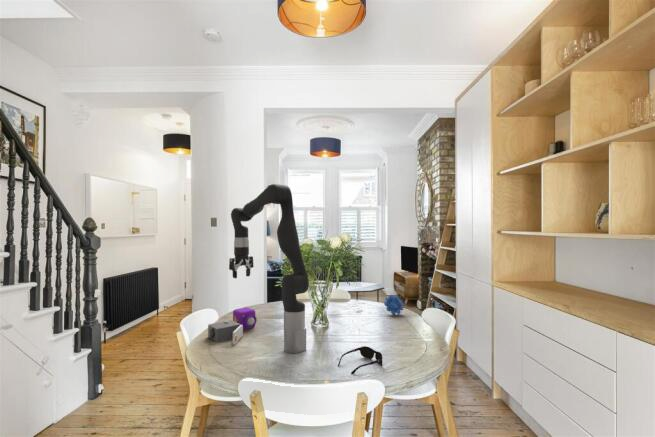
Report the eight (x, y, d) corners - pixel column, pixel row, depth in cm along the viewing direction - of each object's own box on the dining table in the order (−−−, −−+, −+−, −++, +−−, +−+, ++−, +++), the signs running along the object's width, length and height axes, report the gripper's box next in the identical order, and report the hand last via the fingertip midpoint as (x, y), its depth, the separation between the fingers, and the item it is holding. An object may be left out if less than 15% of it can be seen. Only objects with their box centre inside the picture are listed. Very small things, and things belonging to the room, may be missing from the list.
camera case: (240, 336, 170) (240, 322, 170) (214, 342, 161) (214, 328, 161) (231, 331, 177) (231, 318, 177) (205, 337, 168) (205, 323, 168)
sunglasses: (387, 367, 134) (387, 354, 134) (356, 377, 125) (356, 363, 125) (364, 356, 145) (364, 344, 145) (333, 365, 136) (333, 352, 136)
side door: (243, 335, 170) (243, 324, 170) (236, 344, 158) (236, 332, 158) (240, 335, 170) (240, 324, 170) (232, 344, 158) (232, 332, 158)
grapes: (385, 316, 206) (385, 296, 206) (383, 313, 213) (383, 293, 213) (405, 316, 206) (404, 296, 206) (402, 313, 213) (402, 293, 213)
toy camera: (246, 332, 175) (246, 313, 176) (229, 328, 184) (229, 309, 184) (262, 327, 184) (262, 308, 184) (245, 323, 192) (245, 305, 192)
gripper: (235, 247, 174) (235, 279, 174) (256, 245, 185) (256, 276, 185) (225, 246, 178) (225, 278, 178) (247, 245, 190) (247, 275, 189)
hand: (241, 277), depth 181 cm, fingers open, 8 cm apart
